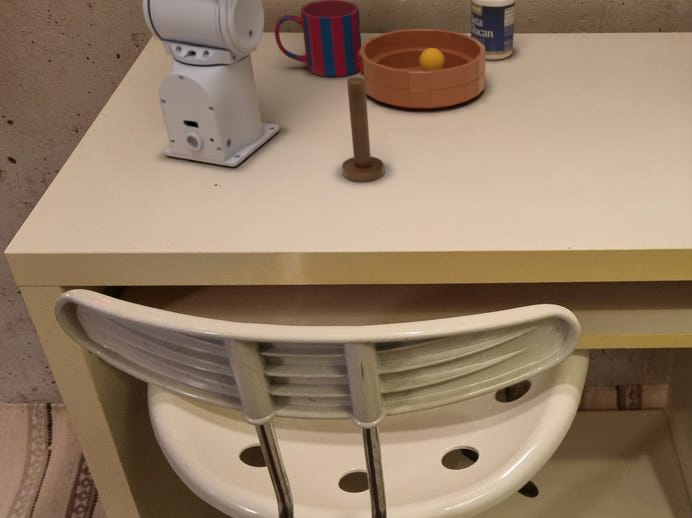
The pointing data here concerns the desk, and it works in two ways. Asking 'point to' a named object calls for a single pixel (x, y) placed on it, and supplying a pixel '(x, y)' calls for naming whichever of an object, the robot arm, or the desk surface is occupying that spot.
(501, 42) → the pill bottle
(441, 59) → the ball
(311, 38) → the mug
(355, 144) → the stick
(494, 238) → the desk surface
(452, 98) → the bowl
